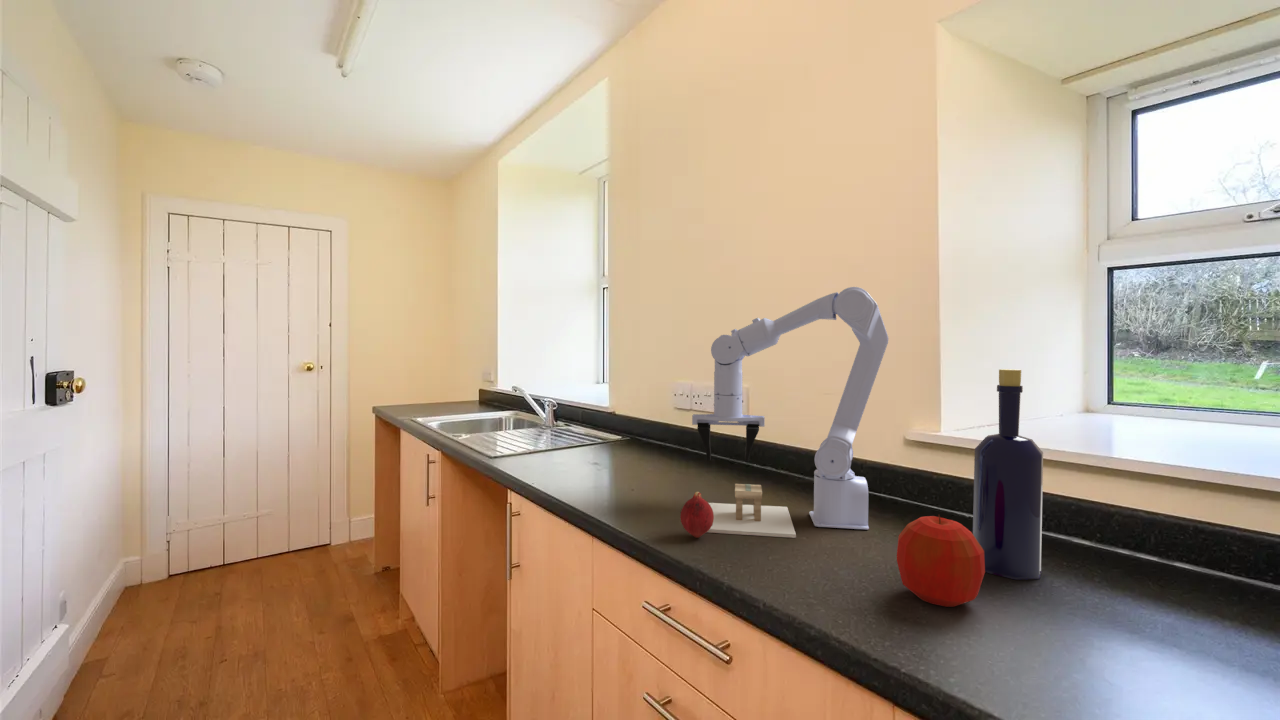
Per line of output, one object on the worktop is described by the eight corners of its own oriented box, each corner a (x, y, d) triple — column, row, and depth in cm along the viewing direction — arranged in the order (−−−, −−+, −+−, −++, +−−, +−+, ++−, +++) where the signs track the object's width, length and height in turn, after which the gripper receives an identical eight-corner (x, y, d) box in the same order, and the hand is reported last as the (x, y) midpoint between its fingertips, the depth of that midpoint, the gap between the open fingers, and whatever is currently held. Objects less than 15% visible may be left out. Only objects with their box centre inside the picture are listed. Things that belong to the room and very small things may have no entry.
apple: (898, 610, 68) (900, 520, 67) (892, 578, 77) (894, 499, 77) (992, 626, 64) (994, 531, 64) (974, 590, 74) (975, 507, 73)
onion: (712, 545, 90) (712, 498, 90) (678, 542, 91) (678, 496, 91) (714, 533, 95) (714, 488, 95) (682, 530, 97) (682, 487, 96)
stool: (762, 521, 100) (762, 491, 100) (734, 520, 101) (735, 490, 101) (760, 513, 105) (761, 484, 105) (734, 511, 106) (735, 483, 105)
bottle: (1030, 559, 84) (1035, 368, 83) (1054, 584, 75) (1059, 371, 74) (963, 552, 87) (967, 367, 86) (979, 575, 78) (983, 370, 77)
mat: (787, 509, 109) (787, 506, 109) (795, 537, 93) (795, 534, 93) (708, 505, 112) (708, 502, 112) (703, 532, 96) (703, 528, 96)
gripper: (763, 393, 112) (763, 457, 112) (694, 391, 115) (693, 454, 115) (765, 396, 105) (764, 465, 105) (691, 395, 108) (691, 462, 108)
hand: (727, 460), depth 110 cm, fingers open, 7 cm apart
